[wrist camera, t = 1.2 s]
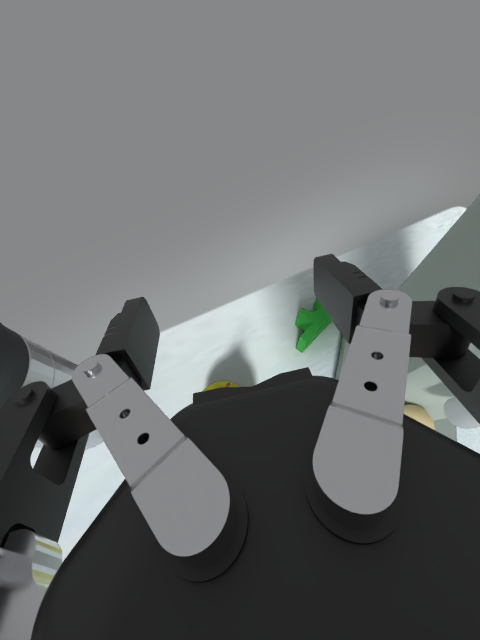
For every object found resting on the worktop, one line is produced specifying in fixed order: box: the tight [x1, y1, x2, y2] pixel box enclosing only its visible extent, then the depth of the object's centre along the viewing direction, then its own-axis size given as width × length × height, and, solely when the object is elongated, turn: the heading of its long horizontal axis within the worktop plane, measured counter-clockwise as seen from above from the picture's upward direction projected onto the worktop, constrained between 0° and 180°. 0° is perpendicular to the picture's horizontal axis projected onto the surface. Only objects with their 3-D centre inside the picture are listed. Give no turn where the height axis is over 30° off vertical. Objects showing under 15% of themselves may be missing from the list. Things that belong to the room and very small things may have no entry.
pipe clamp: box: [295, 298, 332, 353], centre depth 39 cm, size 11×4×5 cm, turn 135°
